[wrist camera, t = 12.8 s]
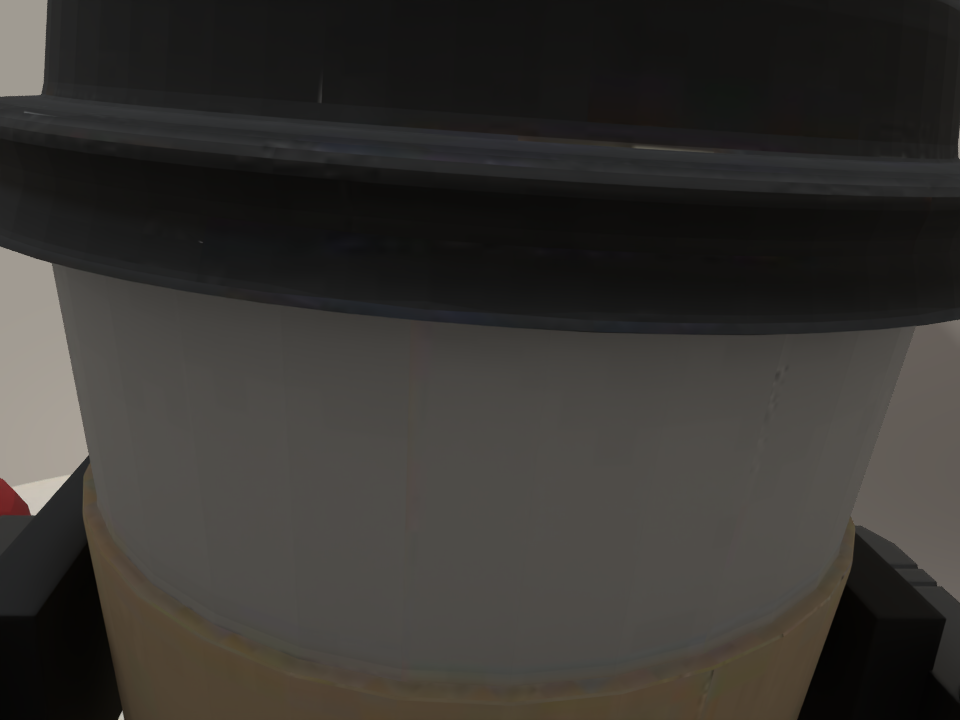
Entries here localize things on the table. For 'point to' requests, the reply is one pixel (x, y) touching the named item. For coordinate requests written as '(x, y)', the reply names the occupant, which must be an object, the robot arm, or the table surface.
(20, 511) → the tomato
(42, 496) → the table surface
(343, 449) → the coffee cup
